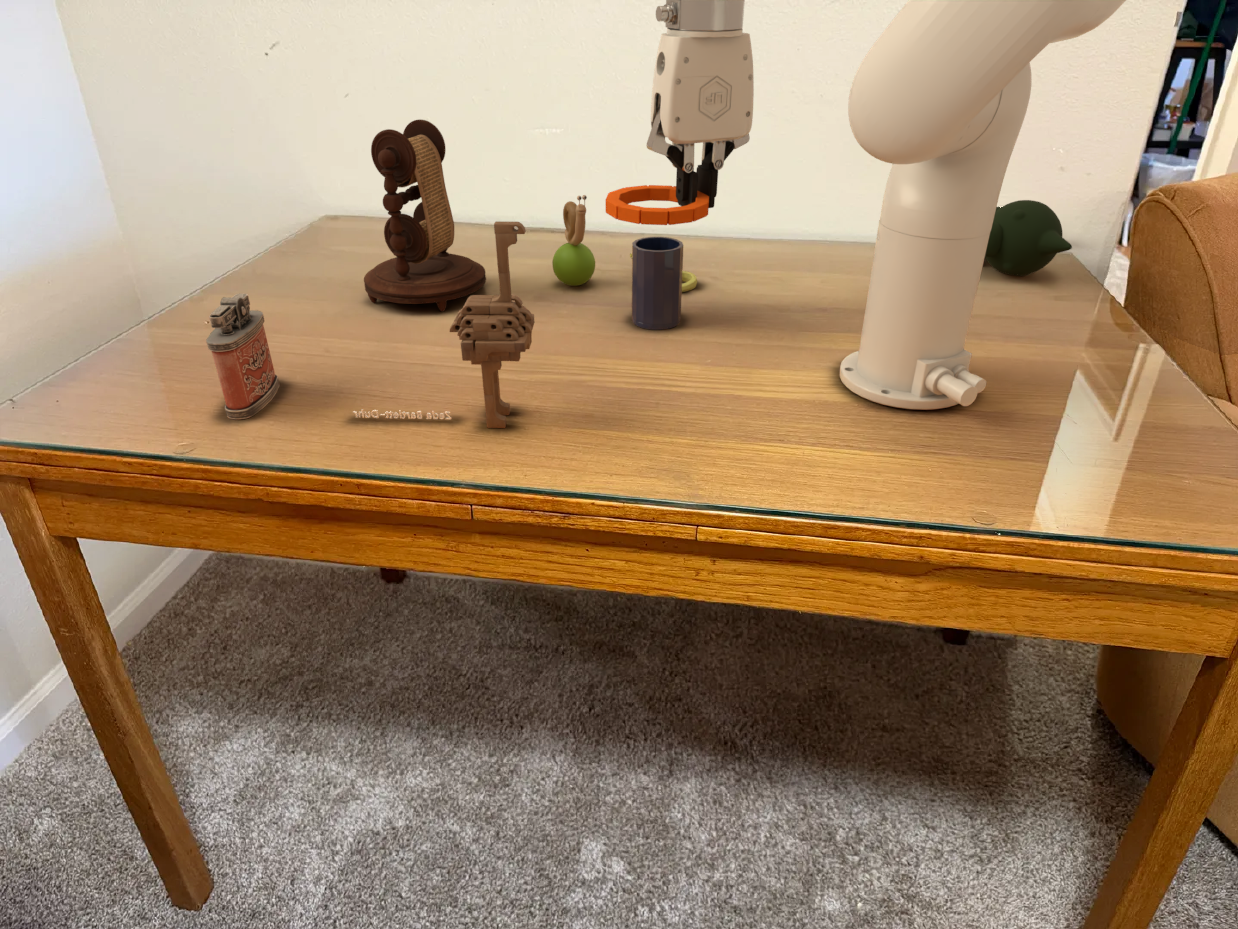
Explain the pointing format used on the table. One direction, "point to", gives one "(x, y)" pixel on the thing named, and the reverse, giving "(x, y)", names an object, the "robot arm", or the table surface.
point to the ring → (654, 216)
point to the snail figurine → (574, 248)
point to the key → (687, 280)
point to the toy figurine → (1024, 238)
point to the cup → (656, 282)
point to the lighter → (242, 357)
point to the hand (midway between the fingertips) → (695, 204)
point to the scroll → (418, 223)
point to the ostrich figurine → (490, 332)
